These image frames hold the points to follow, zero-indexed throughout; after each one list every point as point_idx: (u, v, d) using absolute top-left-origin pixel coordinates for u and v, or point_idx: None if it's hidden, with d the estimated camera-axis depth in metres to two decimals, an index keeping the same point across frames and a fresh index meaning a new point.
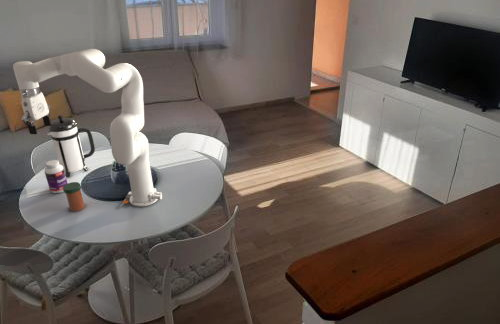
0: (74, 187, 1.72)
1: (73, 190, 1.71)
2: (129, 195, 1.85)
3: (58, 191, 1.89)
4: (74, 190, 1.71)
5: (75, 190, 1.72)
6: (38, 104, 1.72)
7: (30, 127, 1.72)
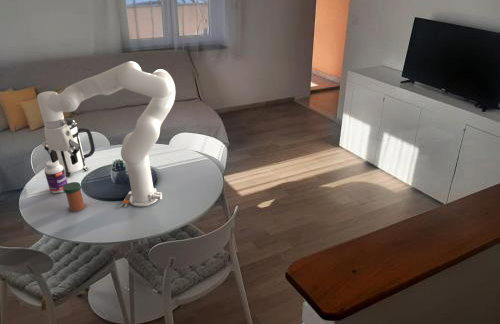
0: (74, 187, 1.72)
1: (73, 190, 1.71)
2: (129, 195, 1.85)
3: (58, 191, 1.89)
4: (74, 190, 1.71)
5: (75, 190, 1.72)
6: None
7: (75, 155, 1.66)
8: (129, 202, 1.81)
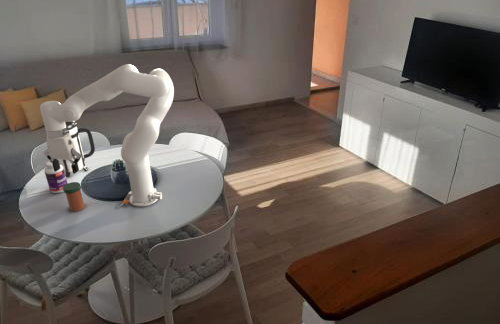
0: (74, 187, 1.72)
1: (73, 190, 1.71)
2: (129, 195, 1.85)
3: (58, 191, 1.89)
4: (74, 190, 1.71)
5: (75, 190, 1.72)
6: None
7: (76, 165, 1.68)
8: (129, 202, 1.81)
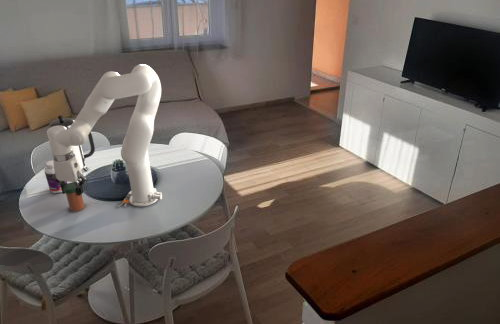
0: (74, 187, 1.72)
1: (73, 190, 1.71)
2: (129, 195, 1.85)
3: (58, 191, 1.89)
4: (74, 190, 1.71)
5: (75, 190, 1.72)
6: None
7: (81, 187, 1.73)
8: None
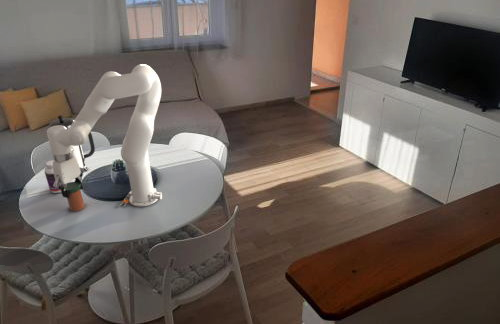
0: (76, 183, 1.75)
1: None
2: (129, 194, 1.85)
3: (58, 191, 1.89)
4: None
5: (79, 185, 1.76)
6: None
7: None
8: None
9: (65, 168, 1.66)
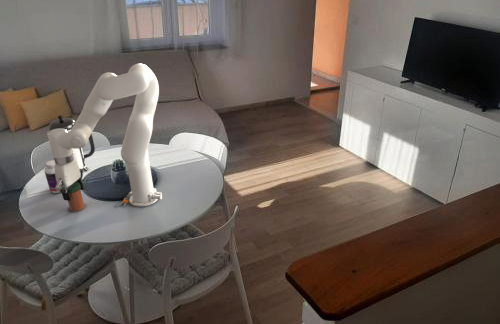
0: (76, 183, 1.75)
1: None
2: (129, 194, 1.85)
3: None
4: (79, 184, 1.76)
5: None
6: None
7: None
8: (128, 202, 1.81)
9: (67, 171, 1.67)
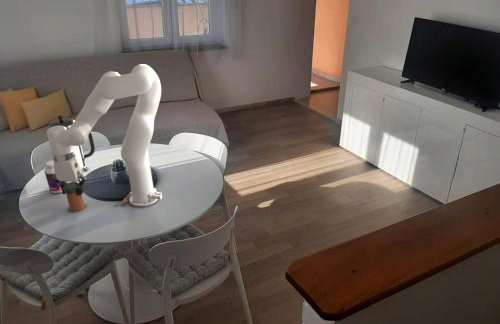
0: None
1: None
2: (130, 194, 1.85)
3: (58, 191, 1.89)
4: None
5: None
6: None
7: (81, 187, 1.73)
8: None
9: (57, 167, 1.68)
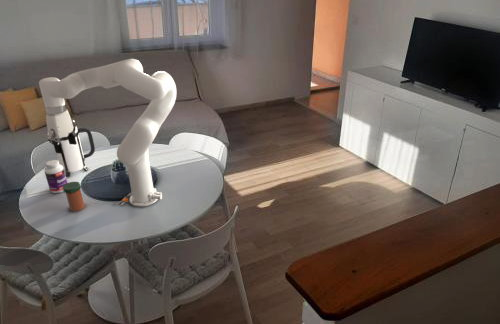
0: (68, 184, 1.75)
1: None
2: (131, 193, 1.86)
3: (58, 191, 1.89)
4: None
5: None
6: None
7: None
8: (127, 201, 1.82)
9: (59, 121, 1.63)
